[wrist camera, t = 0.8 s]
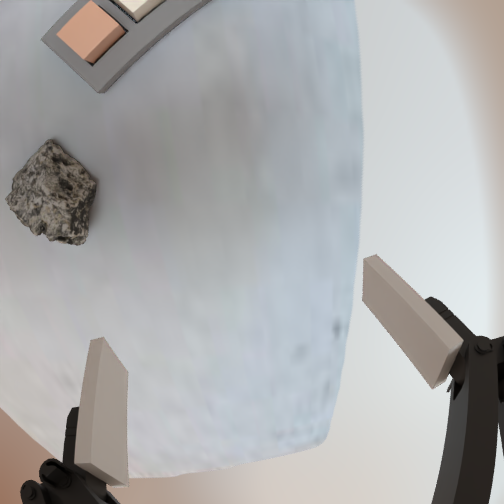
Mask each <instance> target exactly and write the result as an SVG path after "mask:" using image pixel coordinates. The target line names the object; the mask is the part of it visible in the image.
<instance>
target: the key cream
mask: <svg viewBox="0 0 504 504" xmlns="http://www.w3.org/2000/svg"><path fill="white" fill-rule="evenodd" d="M113 1H114V2H115V3H116V4H117V5H119V6H120V7H121V8H122V9H123V10H124V11H126V12H127V13H128V14H129V15H130V16H131V17H132V18H134V19H135V20H136V21H137V22H139V21H140V20H141V19H142V18H144V17H145V16H146V15H147V14H148V13H150V12H151V11H152V10H153V9H155V8H156V7H157V6H158V5H160V4H161V3H162V2H164V1H165V0H113Z"/></svg>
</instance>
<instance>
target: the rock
mask: <svg viewBox="0 0 504 504" xmlns="http://www.w3.org/2000/svg"><path fill="white" fill-rule="evenodd" d="M89 178H90V177H89V174H87V172H86V170H85V169H84V168H83V167H82V166H80V163H79V162H77V161H76V160H75V159H74V158H71V157H70V156H69V155H68V154H64V153H63V150H62V149H61V147H60V146H59V145H53V143H52V141H51V139H48V140H47V141H46V142H45V144H44V145H43V146H41V147H40V148H39V150H38V151H37V152H36V153H35V154H34V155H33V156H32V157H31V158H30V159H29V160H28V162H27V163H26V165H25V166H24V167H23V169H22V170H20V171H19V172H18V173H17V174H16V175H15V177H14V178H13V184H12V192H11V193H10V194H9V195H8V196H7V197H6V199H5V200H6V201H7V202H8V203H7V204H8V205H9V206H10V210H12V211H13V212H15V214H16V216H17V218H18V219H19V220H20V221H21V223H22V224H23V225H25V226H27V227H30V230H31V231H32V233H33V234H34V235H36V236H37V235H41V233H43V234H45V235H47V238H48V239H49V241H55V240H56V241H58V242H60V243H68V244H71V245H72V244H74V245H77V246H78V245H81V244H84V243H85V242H86V238H87V236H88V215H87V213H88V210H89V208H90V206H91V204H92V203H93V200H94V197H95V192H96V184H95V182H94V181H93V180H89Z"/></svg>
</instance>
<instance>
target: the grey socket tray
mask: <svg viewBox="0 0 504 504" xmlns="http://www.w3.org/2000/svg"><path fill="white" fill-rule="evenodd" d="M89 1H90V0H78V1H77V2H76V3H75V4H74V5H73V6H72V7H71V8H70V9H69V10H68V11H67V12H66V13H65V14H64V15H63V16H62V17H61V18H60V19H59V20H58V21H57V22H56V23H55V24H54V25H53V26H52V27H51V28H50V29H49V31H48V32H47V33H46V34H45V35H44V36H43V37H42V38H41V40H42V41H43V42H44V43H45V44H46V45H47V46H48V47H49V48H50V49H51V50H52V51H54V52H55V53H56V54H57V55H58V56H59V57H60V58H61V59H62V60H63V61H64V62H65V63H66V64H67V65H69V66H70V67H71V68H72V69H73V70H74V71H75V72H76V73H77V74H78V75H79V76H80V77H81V78H82V79H84V80H85V81H86V82H87V83H88V84H89V85H90V86H91V87H92V88H93V89H94V90H95V91H96V92H97V93H105V92H106V91H107V89H108V88H109V87H110V86H111V85H112V84H113V83H114V82H115V81H116V80H117V79H118V78H119V77H120V76H121V75H122V74H123V73H124V72H125V71H126V70H127V69H128V68H129V67H130V66H131V65H132V64H133V63H134V62H135V61H136V60H138V59H139V58H140V57H141V56H142V55H143V54H144V53H145V52H146V51H147V50H149V49H150V48H151V47H152V46H153V45H154V44H155V43H157V42H158V41H159V40H160V39H161V38H162V37H164V36H165V35H166V34H167V33H168V32H170V31H171V30H172V29H173V28H175V27H176V26H177V25H178V24H180V23H181V22H182V21H183V20H185V19H186V18H187V17H189V16H190V15H191V14H193V13H194V12H195V11H197V10H198V9H200V8H201V7H202V6H204V5H205V4H207V3H208V2H210V1H211V0H166V1H165V2H164V3H162V4H161V5H160V6H159V7H157V8H156V9H155V10H153V11H152V12H151V13H150V14H149V15H147V16H146V17H145V18H144V19H142V20H141V21H140V22H139V23H138V24H136V23H134V22H133V21H132V20H131V19H130V18H129V17H128V16H127V15H125V14H124V13H123V12H122V11H121V10H120V9H119V8H117V7H116V6H115V5H114V4H115V2H114V1H113V0H92V1H93V2H94V3H95V4H96V5H97V6H99V7H100V8H101V9H102V10H103V11H104V12H106V13H107V14H108V15H109V16H110V17H111V18H113V19H114V20H115V21H116V22H117V23H118V24H119V25H120V26H122V27H123V28H124V29H125V30H126V31H127V32H128V33H126V34H125V35H124V36H123V37H122V38H121V39H120V40H119V41H118V42H117V43H116V44H115V45H114V46H113V47H111V48H110V49H109V50H108V51H107V52H106V53H105V54H104V55H103V56H102V57H101V58H100V59H99V60H98V62H97V63H96V64H95V65H94V64H93V63H91V62H89V61H86V60H84V59H82V58H81V57H80V56H79V55H78V54H77V53H76V52H75V51H74V50H73V49H72V48H70V47H69V46H68V45H67V44H66V43H65V42H64V41H63V40H62V39H61V38H59V37H58V36H57V35H56V34H57V33H58V32H59V31H60V30H61V29H62V28H63V27H64V26H65V24H66V23H67V22H68V21H69V20H70V19H71V18H72V17H73V16H74V15H75V14H76V13H77V12H78V11H79V10H80V9H82V8H83V7H84V6H85V5H86V4H87V3H88V2H89Z"/></svg>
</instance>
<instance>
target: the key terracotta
mask: <svg viewBox="0 0 504 504" xmlns="http://www.w3.org/2000/svg"><path fill="white" fill-rule="evenodd" d="M125 33H126V32H125V31H124V30H123V29H122V27H121V26H120V25H119V24H118V23H117V22H116V21H115V20H114V19H113V18H111V17H110V16H109V15H108V14H107V13H106V12H104V11H103V10H102V9H101V8H100V7H99V6H97V5H96V4H95V3H94V2H93V1H92V0H90V1H89V2H88V3H87V4H86V5H85V6H84V7H83V8H82V9H80V10H79V11H78V12H77V13H76V14H75V15H74V16H73V17H72V18H71V19H70V20H69V21H68V22H67V23H66V24H65V26H64V27H63V28H62V29H61V30H60V31H59V32H58V33H57V34H56V35H57V36H58V37H59V38H61V39H62V40H63V41H64V42H65V43H66V44H67V45H68V46H69V47H70V48H72V49H73V50H74V51H75V52H76V53H77V54H78V55H79V56H80V57H81V58H82V59H84V60H86V61H89V62H91V63H95V62H96V61H97V60H98V59H99V58H100V57H101V56H102V55H103V54H104V53H105V52H106V51H107V50H108V49H109V48H110V47H111V46H112V45H113V44H114V43H116V42H117V41H118V40H119V39H120V38H121V37H122V36H123V35H124V34H125Z"/></svg>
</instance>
